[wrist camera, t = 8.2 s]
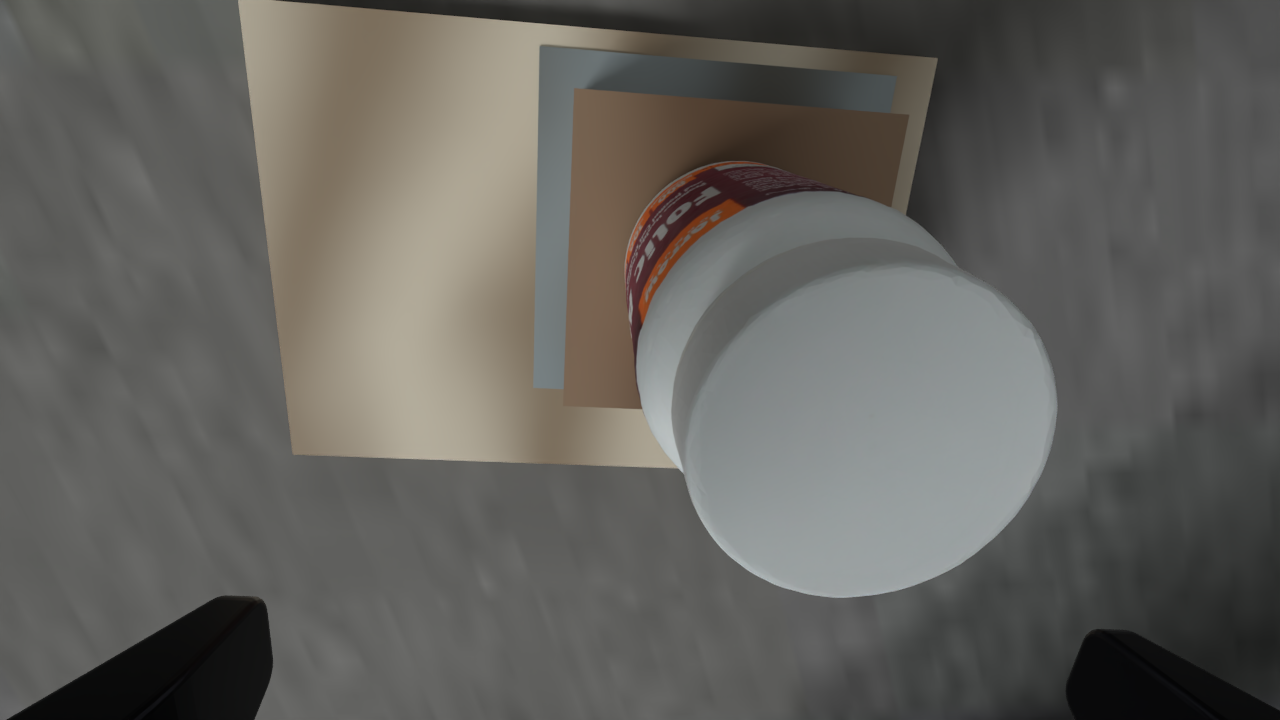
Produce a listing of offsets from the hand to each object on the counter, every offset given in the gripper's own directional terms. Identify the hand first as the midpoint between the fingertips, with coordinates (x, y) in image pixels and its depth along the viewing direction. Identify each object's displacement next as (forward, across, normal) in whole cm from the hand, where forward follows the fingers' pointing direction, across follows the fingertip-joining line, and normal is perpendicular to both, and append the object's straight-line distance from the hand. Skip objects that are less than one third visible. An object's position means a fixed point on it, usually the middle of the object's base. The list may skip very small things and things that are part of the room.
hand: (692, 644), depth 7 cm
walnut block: (+12, -2, -2) cm, 13 cm away
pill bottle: (+9, -2, -2) cm, 9 cm away
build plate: (+13, +1, -1) cm, 13 cm away
